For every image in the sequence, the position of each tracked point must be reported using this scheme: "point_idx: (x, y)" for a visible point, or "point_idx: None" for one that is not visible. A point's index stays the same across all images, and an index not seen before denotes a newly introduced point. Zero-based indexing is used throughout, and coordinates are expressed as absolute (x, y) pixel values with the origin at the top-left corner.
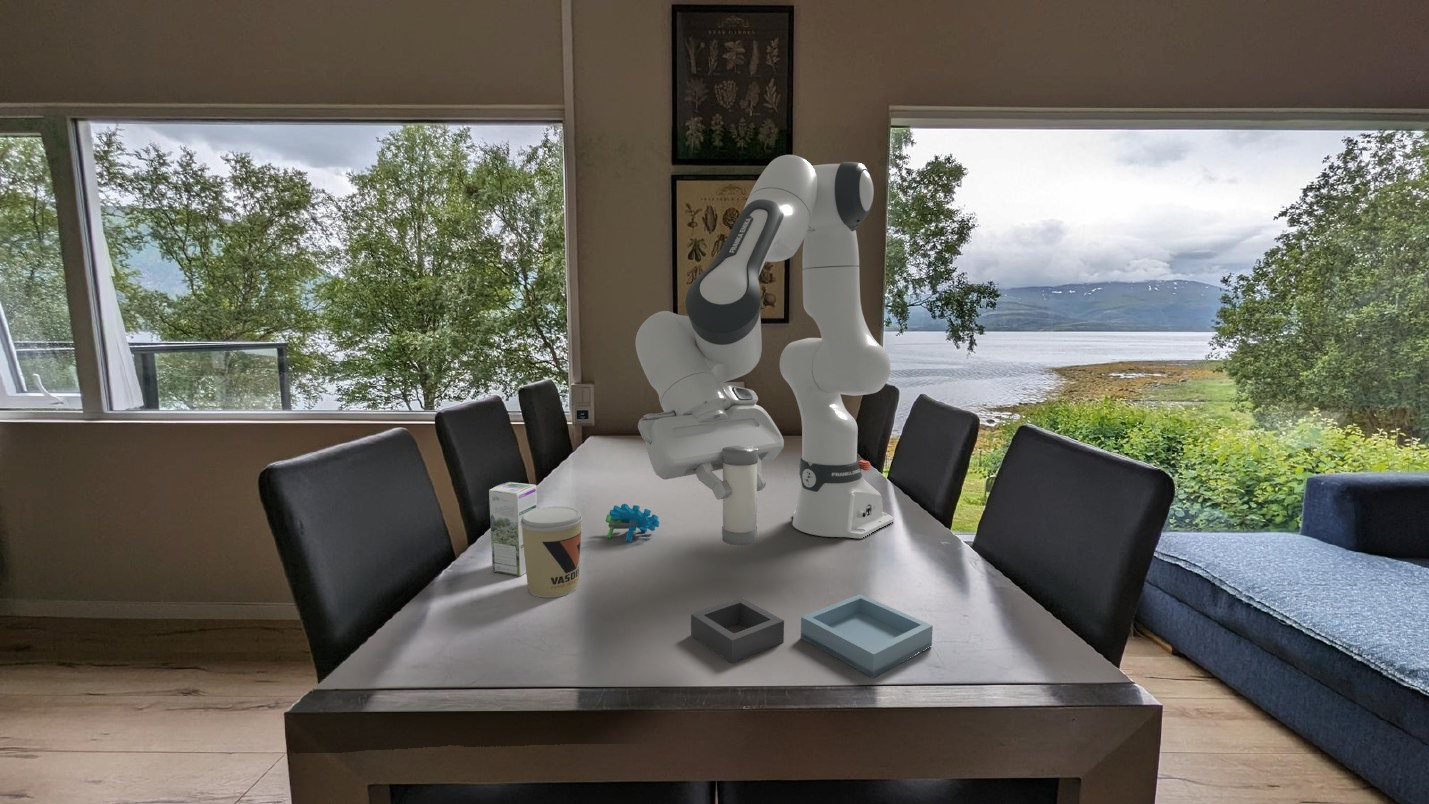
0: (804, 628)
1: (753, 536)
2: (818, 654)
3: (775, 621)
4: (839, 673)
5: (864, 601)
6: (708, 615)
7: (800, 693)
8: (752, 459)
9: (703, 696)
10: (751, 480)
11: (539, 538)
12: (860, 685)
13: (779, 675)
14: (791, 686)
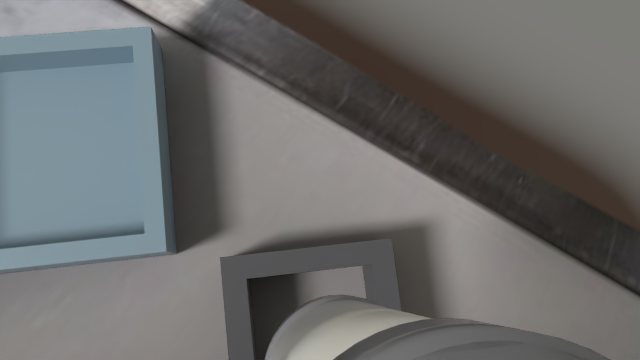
0: (170, 240)
1: (318, 299)
2: (192, 175)
3: (243, 264)
4: (207, 97)
5: None
6: None
7: (321, 85)
8: (426, 327)
9: (486, 171)
10: (382, 318)
11: None
12: (202, 45)
13: (318, 154)
14: (321, 112)
